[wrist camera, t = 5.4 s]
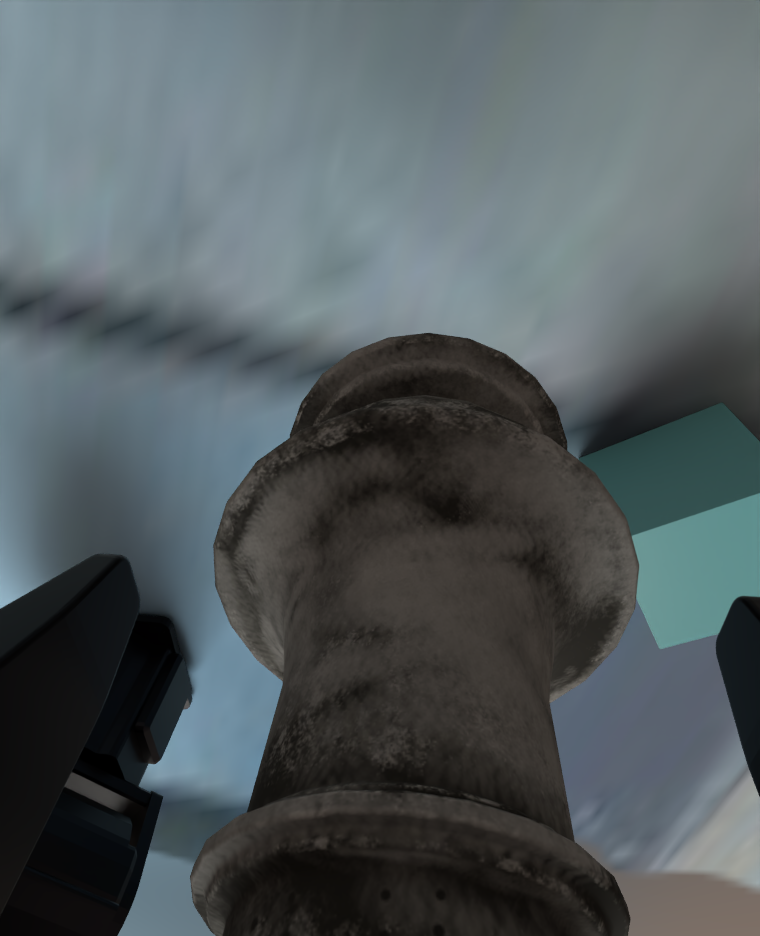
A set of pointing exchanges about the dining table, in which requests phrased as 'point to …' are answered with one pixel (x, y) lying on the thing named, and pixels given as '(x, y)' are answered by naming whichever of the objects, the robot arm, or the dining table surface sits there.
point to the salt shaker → (418, 656)
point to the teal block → (689, 518)
